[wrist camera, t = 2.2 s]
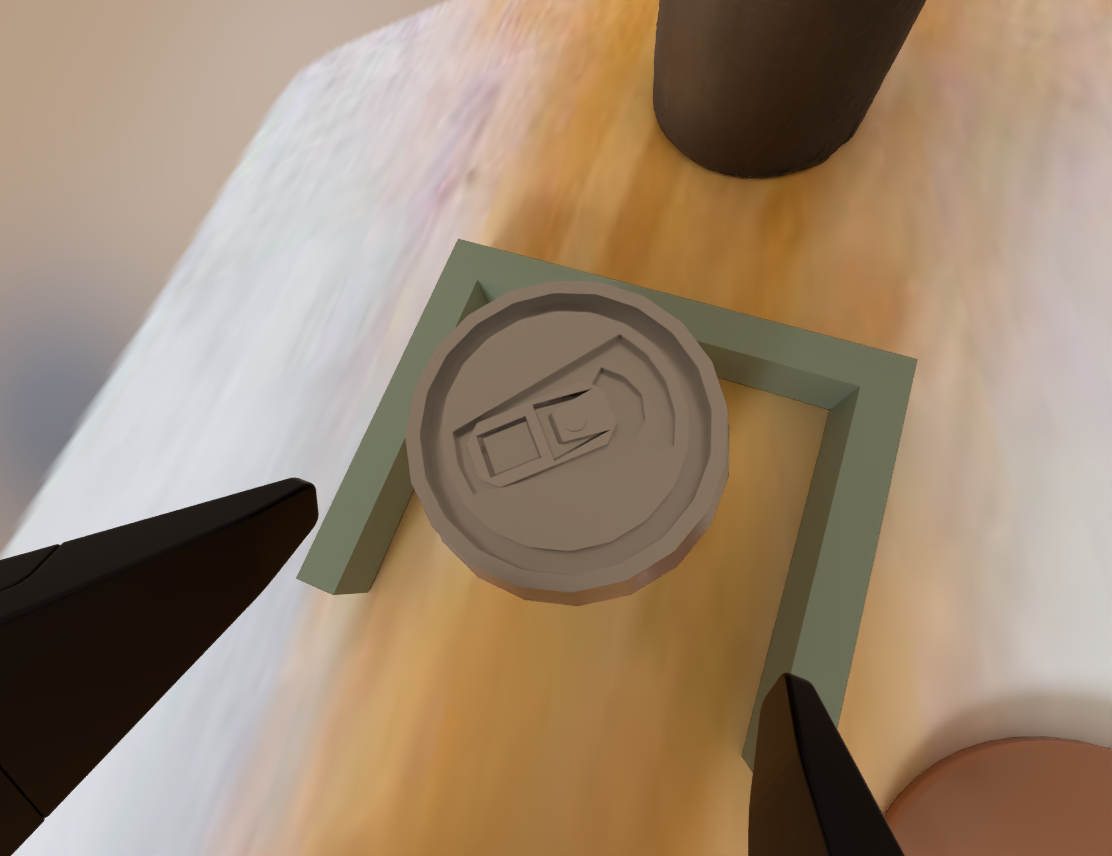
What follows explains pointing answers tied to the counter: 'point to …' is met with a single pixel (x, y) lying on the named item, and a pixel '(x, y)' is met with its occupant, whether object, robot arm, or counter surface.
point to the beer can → (569, 442)
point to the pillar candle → (771, 77)
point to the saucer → (1010, 801)
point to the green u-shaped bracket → (737, 355)
